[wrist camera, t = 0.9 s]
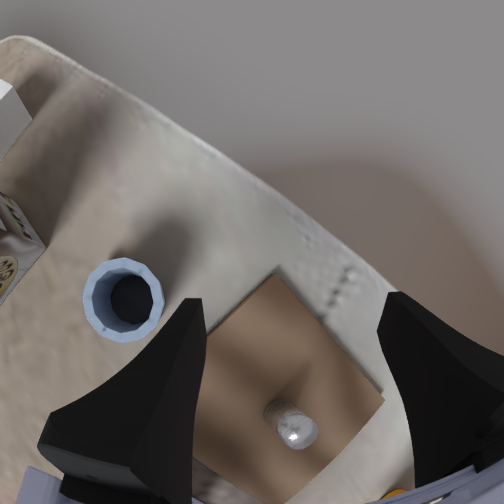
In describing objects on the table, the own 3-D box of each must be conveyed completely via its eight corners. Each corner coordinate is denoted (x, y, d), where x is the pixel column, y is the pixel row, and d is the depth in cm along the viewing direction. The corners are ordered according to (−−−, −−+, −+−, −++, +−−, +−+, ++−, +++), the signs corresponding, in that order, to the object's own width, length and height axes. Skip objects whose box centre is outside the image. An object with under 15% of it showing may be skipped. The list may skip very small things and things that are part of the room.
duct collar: (132, 343, 21) (120, 358, 16) (84, 286, 21) (59, 282, 15) (177, 303, 23) (179, 304, 17) (128, 246, 23) (116, 229, 17)
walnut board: (273, 504, 22) (276, 509, 21) (133, 401, 21) (132, 405, 20) (379, 397, 27) (385, 400, 26) (271, 274, 26) (275, 273, 25)
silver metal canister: (276, 430, 22) (300, 455, 18) (257, 414, 22) (277, 437, 18) (297, 410, 23) (324, 430, 18) (278, 393, 23) (304, 412, 18)
